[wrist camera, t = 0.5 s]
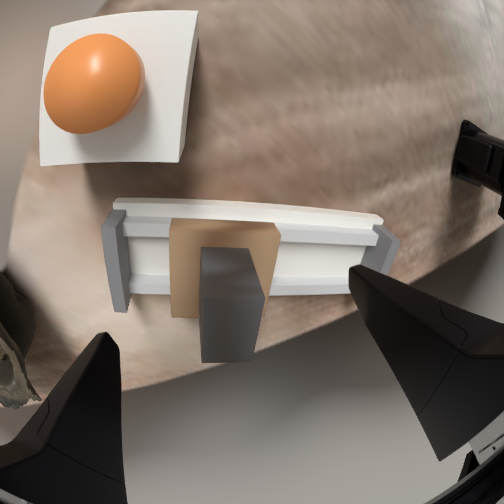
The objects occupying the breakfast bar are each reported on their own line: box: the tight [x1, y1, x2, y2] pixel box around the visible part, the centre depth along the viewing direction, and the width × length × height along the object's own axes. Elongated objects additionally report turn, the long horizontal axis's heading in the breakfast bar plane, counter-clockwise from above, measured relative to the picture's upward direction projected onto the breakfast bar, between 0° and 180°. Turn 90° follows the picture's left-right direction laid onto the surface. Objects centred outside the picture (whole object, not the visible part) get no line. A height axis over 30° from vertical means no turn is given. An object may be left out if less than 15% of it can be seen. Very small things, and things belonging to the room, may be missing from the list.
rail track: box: [101, 197, 401, 313], centre depth 21 cm, size 22×8×4 cm, turn 82°
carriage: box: [169, 218, 281, 363], centre depth 17 cm, size 7×7×7 cm
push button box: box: [39, 10, 198, 166], centre depth 13 cm, size 8×8×6 cm
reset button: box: [43, 33, 145, 134], centre depth 9 cm, size 4×4×2 cm
